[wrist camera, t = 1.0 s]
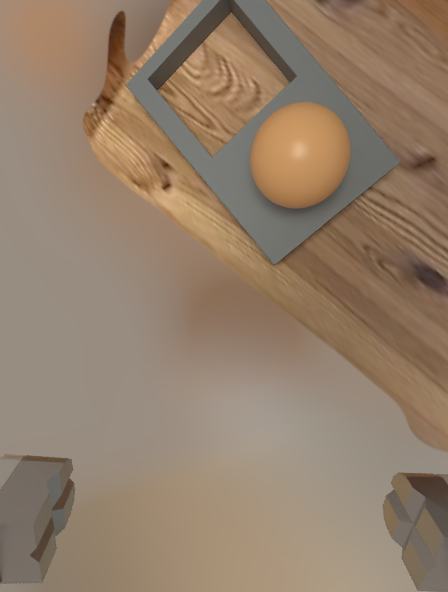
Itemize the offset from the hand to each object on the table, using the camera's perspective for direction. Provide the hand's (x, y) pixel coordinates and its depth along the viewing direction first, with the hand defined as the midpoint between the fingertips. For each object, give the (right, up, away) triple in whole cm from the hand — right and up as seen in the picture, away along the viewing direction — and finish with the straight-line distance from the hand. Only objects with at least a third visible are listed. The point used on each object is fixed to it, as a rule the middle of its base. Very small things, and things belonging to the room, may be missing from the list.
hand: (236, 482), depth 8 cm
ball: (+7, +19, +25) cm, 32 cm away
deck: (+4, +26, +33) cm, 42 cm away
